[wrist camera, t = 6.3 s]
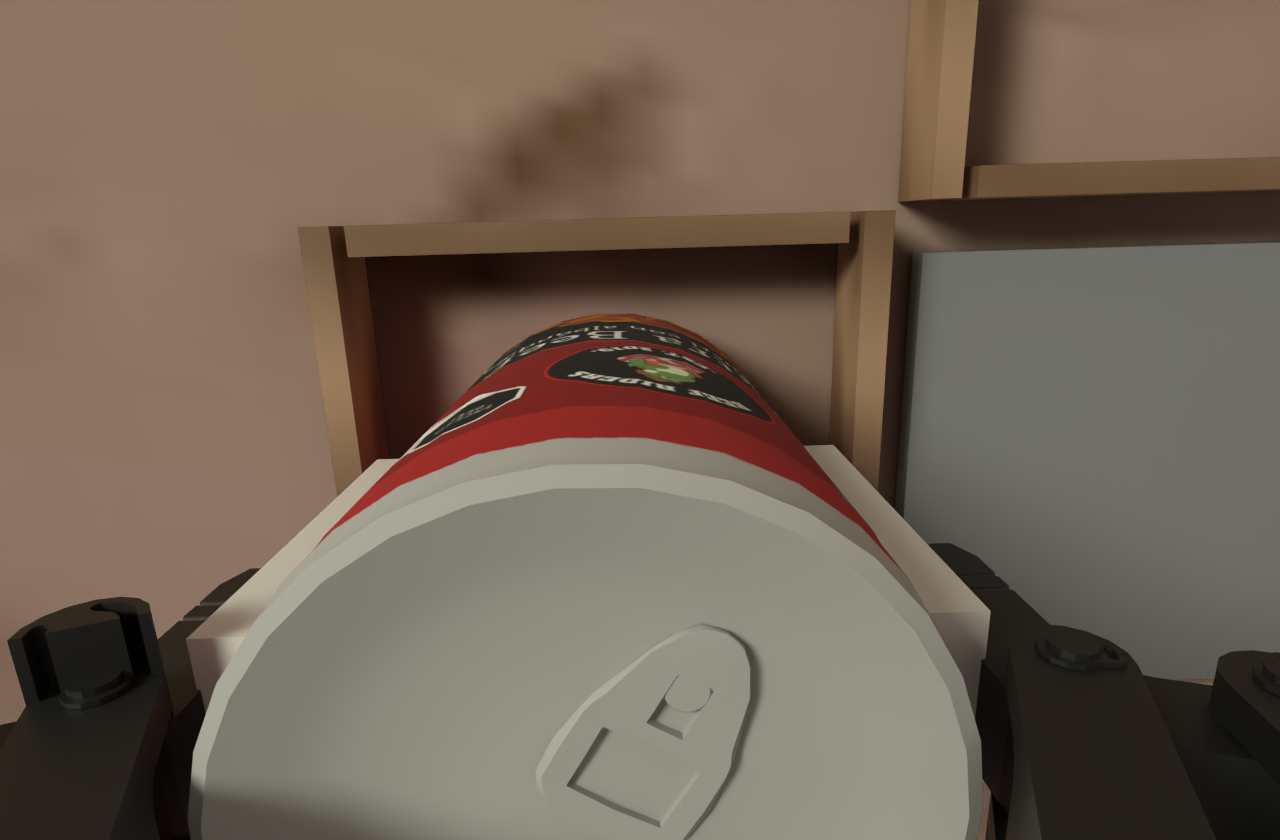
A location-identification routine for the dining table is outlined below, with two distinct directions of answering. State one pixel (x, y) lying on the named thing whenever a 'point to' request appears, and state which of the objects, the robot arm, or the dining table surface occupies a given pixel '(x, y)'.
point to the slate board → (1105, 437)
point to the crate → (343, 249)
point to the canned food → (595, 632)
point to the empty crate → (939, 160)
